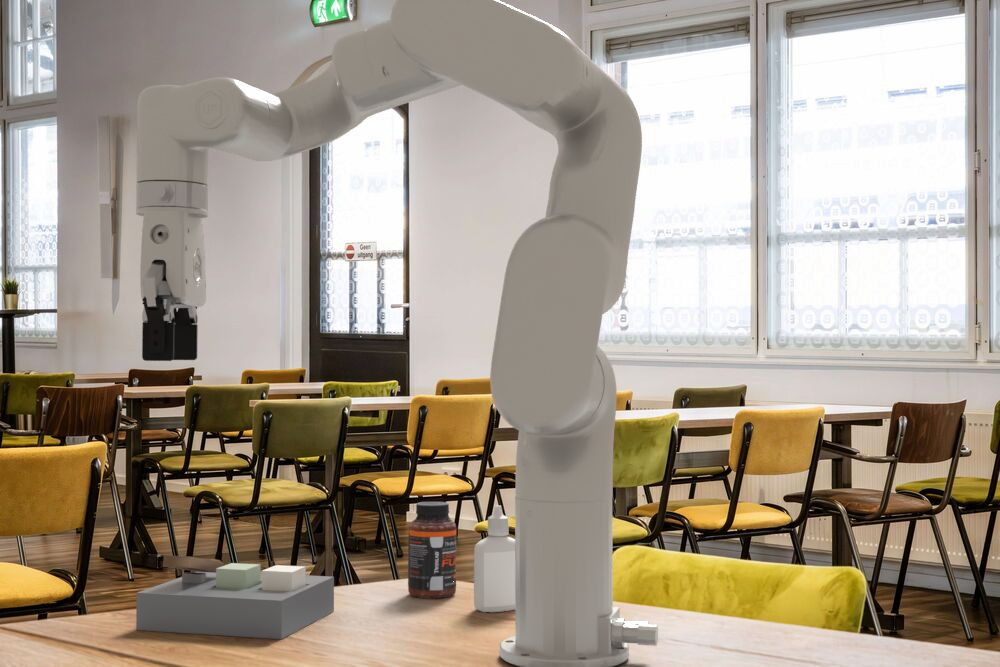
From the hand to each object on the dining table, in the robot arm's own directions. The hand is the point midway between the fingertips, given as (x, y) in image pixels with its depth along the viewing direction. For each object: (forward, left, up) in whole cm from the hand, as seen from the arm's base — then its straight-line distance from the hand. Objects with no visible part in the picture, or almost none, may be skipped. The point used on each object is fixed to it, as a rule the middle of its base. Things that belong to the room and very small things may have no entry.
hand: (170, 360), depth 132 cm
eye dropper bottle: (-32, -19, -29) cm, 47 cm away
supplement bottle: (-22, -25, -29) cm, 44 cm away
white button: (-11, -6, -26) cm, 29 cm away
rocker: (0, -6, -23) cm, 24 cm away
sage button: (-5, -6, -26) cm, 27 cm away
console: (-5, -6, -29) cm, 30 cm away
